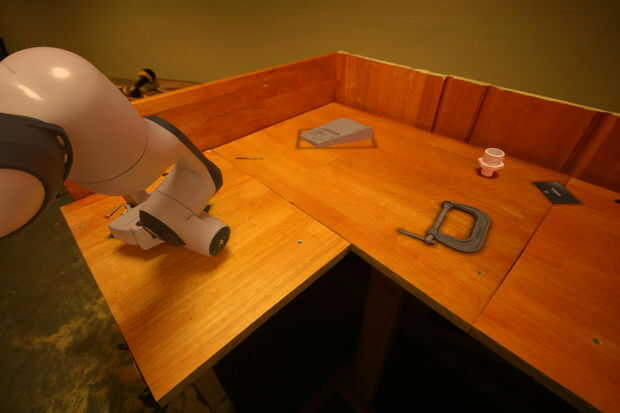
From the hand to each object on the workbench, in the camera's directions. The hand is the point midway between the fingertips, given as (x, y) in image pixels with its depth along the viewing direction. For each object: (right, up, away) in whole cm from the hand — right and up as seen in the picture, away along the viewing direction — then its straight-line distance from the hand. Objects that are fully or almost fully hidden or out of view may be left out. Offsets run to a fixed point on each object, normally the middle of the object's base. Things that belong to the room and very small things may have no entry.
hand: (135, 200), depth 77 cm
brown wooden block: (+4, -5, +2) cm, 7 cm away
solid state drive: (+113, +2, +9) cm, 114 cm away
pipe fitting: (+99, +8, +18) cm, 101 cm away
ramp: (+54, +24, +39) cm, 71 cm away
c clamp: (+79, -7, 0) cm, 79 cm away
